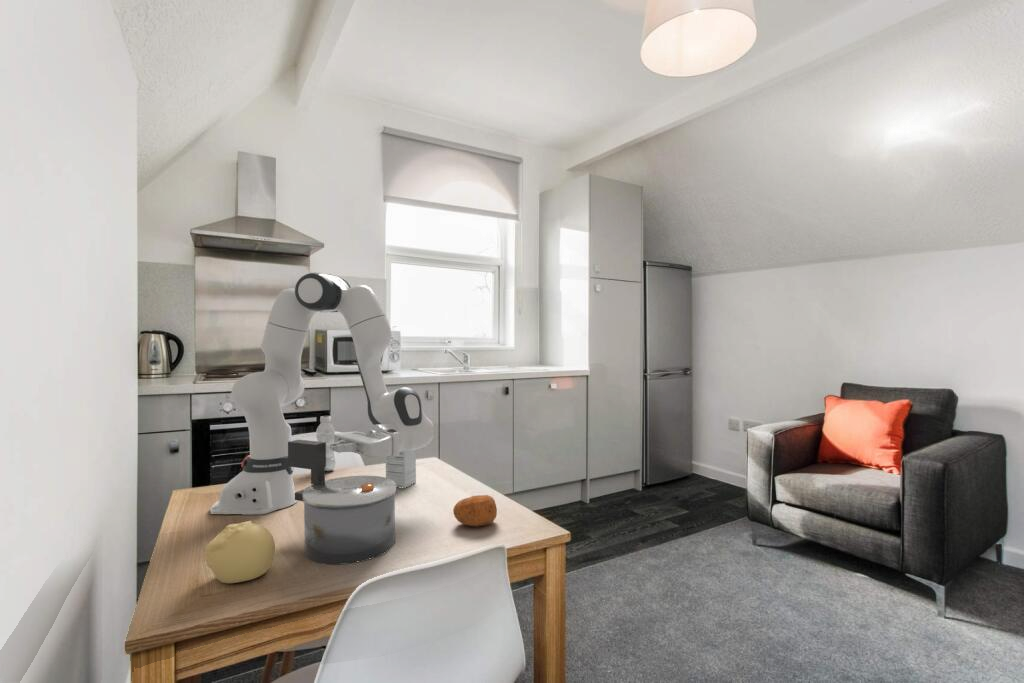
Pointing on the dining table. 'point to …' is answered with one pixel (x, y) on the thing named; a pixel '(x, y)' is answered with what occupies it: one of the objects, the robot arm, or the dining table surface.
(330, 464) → the plastic bottle
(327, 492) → the cooker lid
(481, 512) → the potato
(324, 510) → the cooker pot
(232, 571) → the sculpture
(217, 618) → the dining table surface
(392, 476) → the supplement box
